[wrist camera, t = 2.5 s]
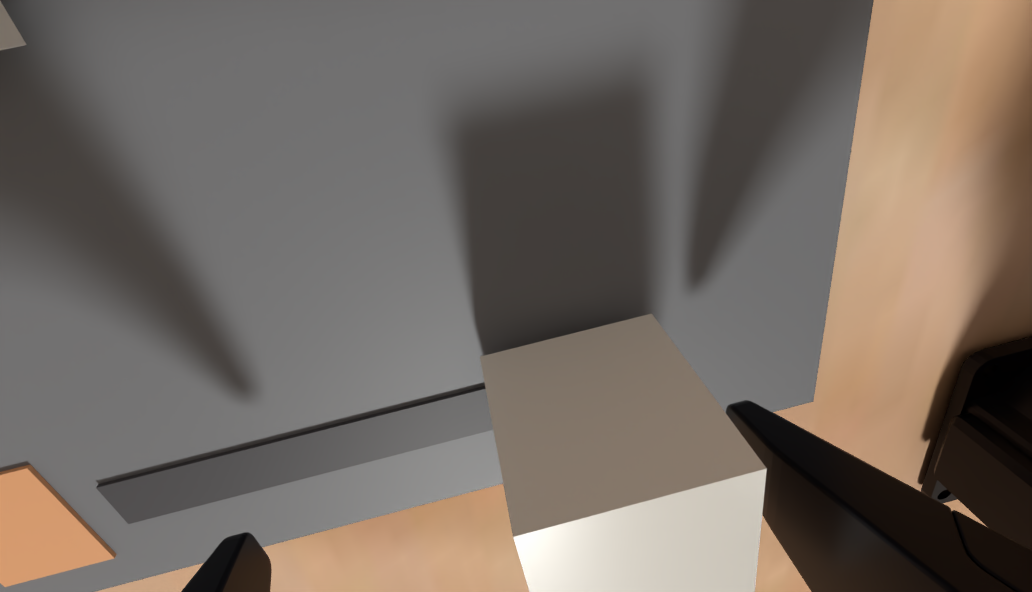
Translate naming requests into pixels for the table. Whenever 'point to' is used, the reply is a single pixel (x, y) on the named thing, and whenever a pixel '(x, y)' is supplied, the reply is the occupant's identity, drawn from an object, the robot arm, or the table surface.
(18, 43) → the switch mid
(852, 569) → the robot arm
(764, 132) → the switch board
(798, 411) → the table surface
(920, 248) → the table surface
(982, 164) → the table surface
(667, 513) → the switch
